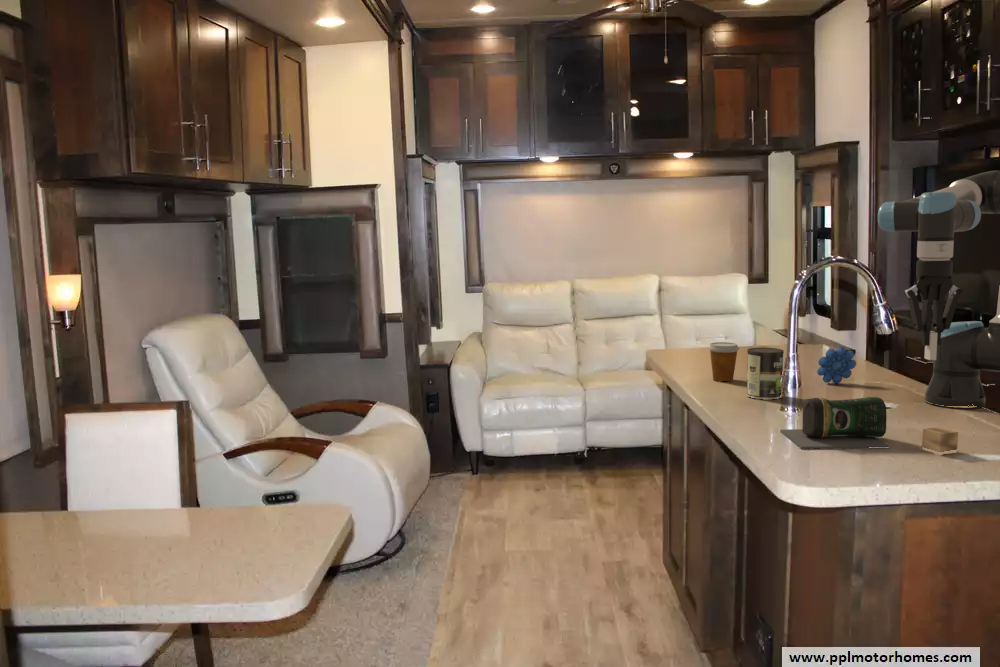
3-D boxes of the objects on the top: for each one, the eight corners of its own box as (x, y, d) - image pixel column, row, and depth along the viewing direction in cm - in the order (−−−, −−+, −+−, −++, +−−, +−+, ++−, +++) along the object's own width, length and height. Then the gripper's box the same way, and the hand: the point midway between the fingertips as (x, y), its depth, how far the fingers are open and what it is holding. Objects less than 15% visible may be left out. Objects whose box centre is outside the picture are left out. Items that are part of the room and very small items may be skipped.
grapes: (852, 381, 275) (854, 344, 273) (857, 385, 268) (858, 347, 267) (814, 380, 277) (815, 344, 276) (817, 384, 271) (819, 347, 269)
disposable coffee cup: (744, 380, 280) (745, 344, 278) (725, 384, 274) (726, 347, 272) (720, 376, 287) (721, 341, 286) (702, 380, 281) (702, 343, 280)
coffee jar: (874, 395, 208) (798, 395, 209) (888, 399, 200) (808, 399, 201) (874, 434, 209) (797, 434, 209) (888, 440, 201) (808, 440, 201)
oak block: (939, 448, 197) (940, 426, 196) (956, 453, 192) (958, 431, 192) (921, 450, 195) (922, 428, 195) (939, 455, 191) (940, 433, 190)
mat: (861, 431, 213) (861, 428, 213) (888, 448, 197) (889, 445, 197) (780, 431, 213) (780, 429, 213) (801, 449, 197) (801, 446, 197)
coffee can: (787, 395, 256) (788, 348, 254) (775, 401, 247) (776, 353, 246) (753, 391, 262) (754, 346, 260) (740, 397, 254) (741, 350, 252)
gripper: (913, 261, 195) (909, 362, 199) (971, 259, 195) (966, 361, 198) (899, 259, 203) (895, 357, 206) (954, 257, 202) (950, 355, 206)
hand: (930, 359), depth 202 cm, fingers closed
